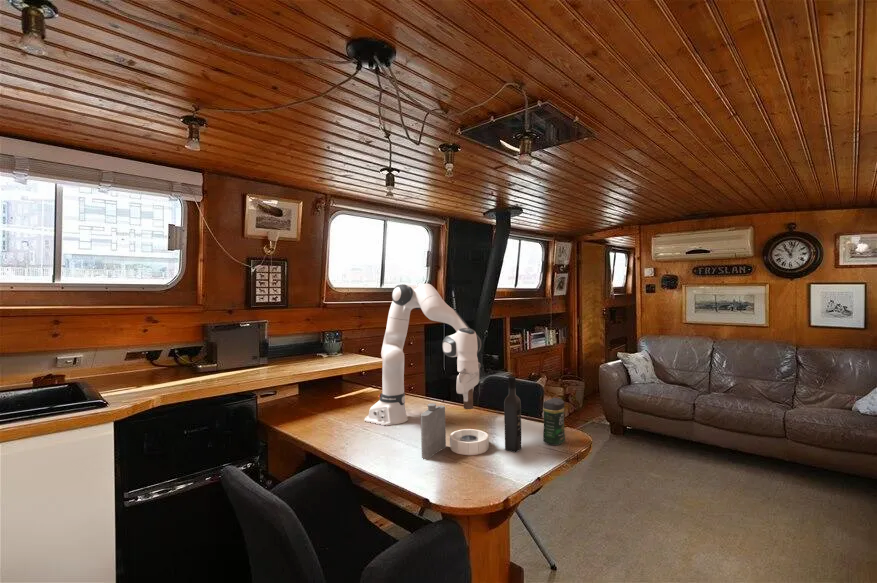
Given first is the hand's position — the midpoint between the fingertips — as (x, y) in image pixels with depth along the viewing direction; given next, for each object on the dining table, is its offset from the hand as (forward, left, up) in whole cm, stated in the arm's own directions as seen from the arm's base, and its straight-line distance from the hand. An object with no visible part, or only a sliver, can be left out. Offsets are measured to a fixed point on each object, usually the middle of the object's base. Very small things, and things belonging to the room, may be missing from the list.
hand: (468, 399), depth 178 cm
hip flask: (-13, -10, -21) cm, 26 cm away
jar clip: (0, 0, -20) cm, 20 cm away
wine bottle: (+18, +4, -21) cm, 28 cm away
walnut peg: (0, 0, -4) cm, 4 cm away
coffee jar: (+33, +18, -21) cm, 43 cm away
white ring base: (0, 0, -20) cm, 20 cm away
